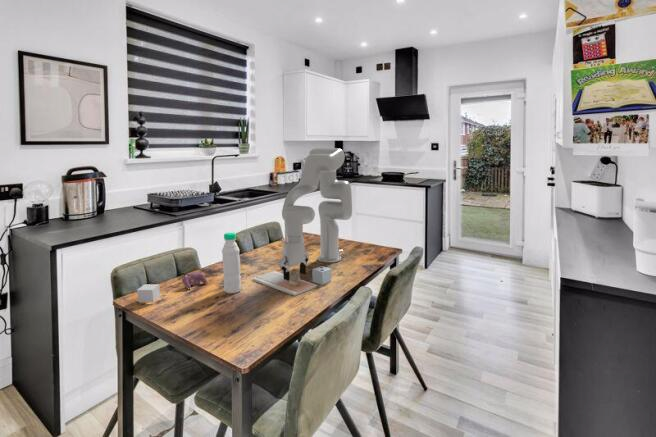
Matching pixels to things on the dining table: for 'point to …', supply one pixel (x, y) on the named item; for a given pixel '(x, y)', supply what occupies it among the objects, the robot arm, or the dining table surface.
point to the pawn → (294, 278)
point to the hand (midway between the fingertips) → (294, 276)
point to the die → (321, 275)
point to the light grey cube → (148, 293)
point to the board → (283, 283)
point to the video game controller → (191, 276)
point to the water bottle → (231, 264)
